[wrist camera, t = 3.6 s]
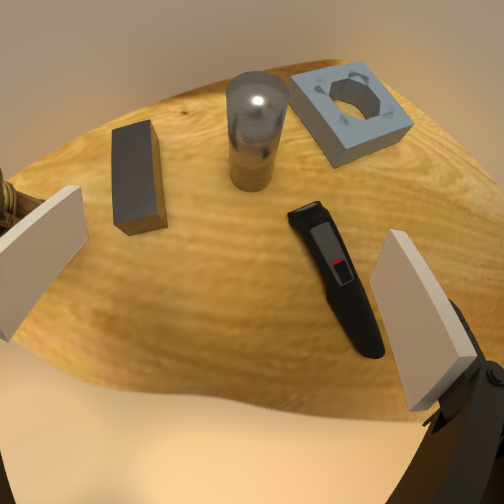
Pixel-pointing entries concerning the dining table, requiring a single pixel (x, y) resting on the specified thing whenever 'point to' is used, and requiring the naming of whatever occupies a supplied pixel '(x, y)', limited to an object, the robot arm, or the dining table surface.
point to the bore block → (340, 124)
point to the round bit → (254, 127)
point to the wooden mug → (14, 206)
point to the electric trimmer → (339, 277)
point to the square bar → (137, 179)
